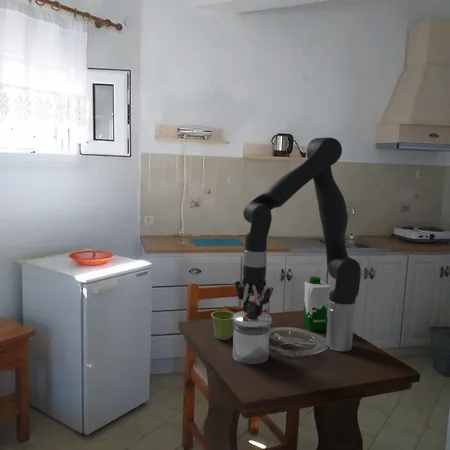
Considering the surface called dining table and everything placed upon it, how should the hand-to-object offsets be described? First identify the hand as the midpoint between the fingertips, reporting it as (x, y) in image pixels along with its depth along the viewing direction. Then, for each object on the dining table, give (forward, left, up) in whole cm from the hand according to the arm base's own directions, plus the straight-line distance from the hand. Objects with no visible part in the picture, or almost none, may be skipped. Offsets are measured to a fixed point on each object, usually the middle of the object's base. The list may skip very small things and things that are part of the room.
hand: (252, 313), depth 162 cm
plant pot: (-8, -17, -15) cm, 24 cm away
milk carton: (-40, +5, -15) cm, 43 cm away
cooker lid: (0, 0, -2) cm, 2 cm away
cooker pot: (0, 0, -15) cm, 15 cm away
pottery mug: (-21, -23, -15) cm, 35 cm away
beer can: (-16, -6, -15) cm, 23 cm away
